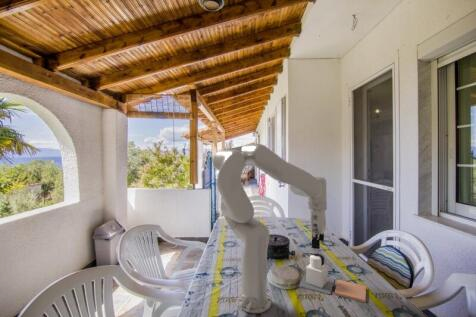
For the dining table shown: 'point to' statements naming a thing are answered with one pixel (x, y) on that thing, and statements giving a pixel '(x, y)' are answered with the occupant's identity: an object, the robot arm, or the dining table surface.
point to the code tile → (326, 288)
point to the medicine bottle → (317, 271)
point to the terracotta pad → (351, 290)
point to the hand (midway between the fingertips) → (318, 244)
